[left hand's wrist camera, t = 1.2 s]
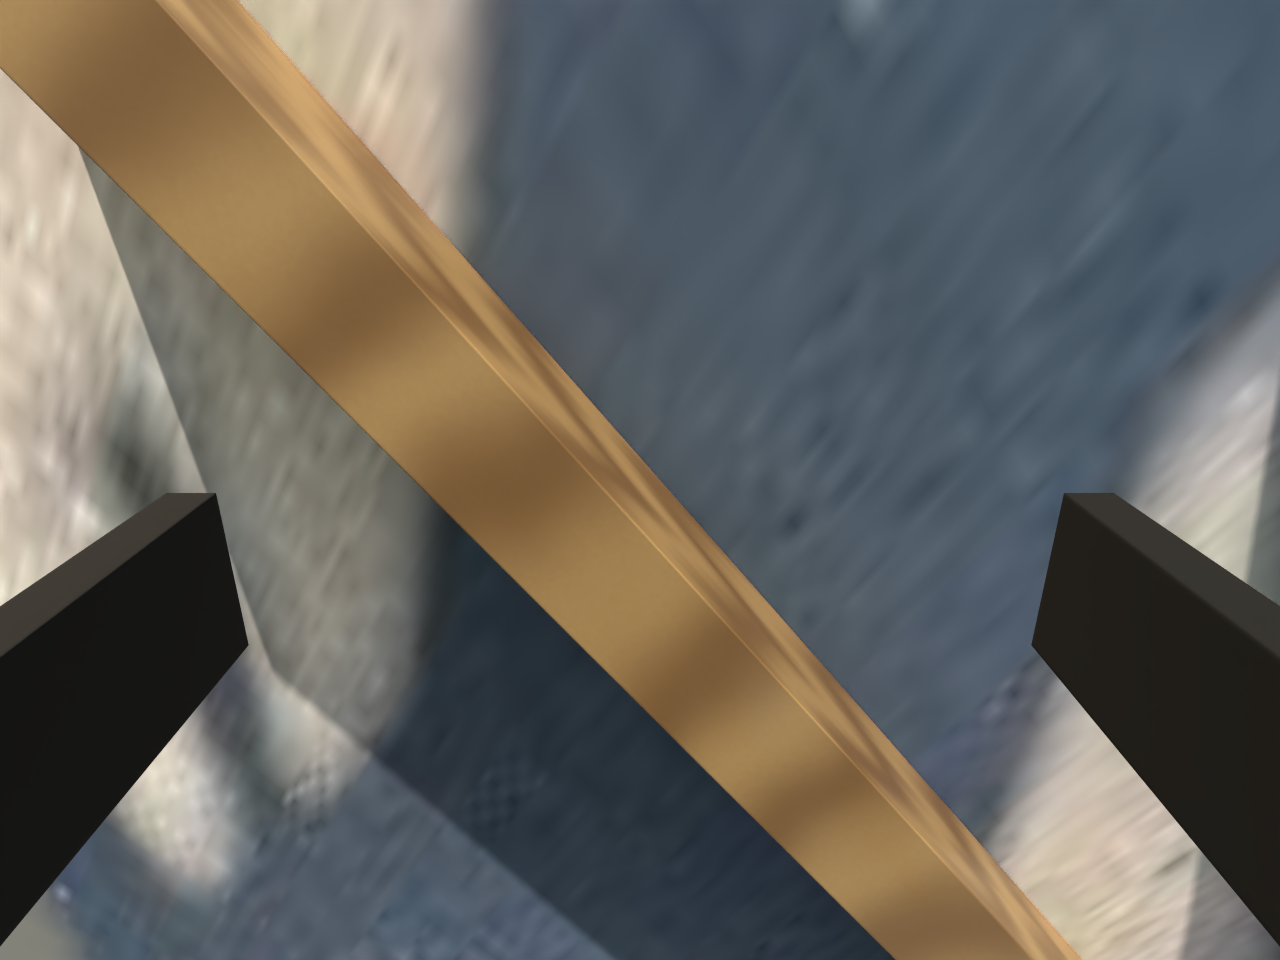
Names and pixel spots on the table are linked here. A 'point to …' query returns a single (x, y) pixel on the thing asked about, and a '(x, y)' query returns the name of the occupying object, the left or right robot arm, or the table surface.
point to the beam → (505, 445)
